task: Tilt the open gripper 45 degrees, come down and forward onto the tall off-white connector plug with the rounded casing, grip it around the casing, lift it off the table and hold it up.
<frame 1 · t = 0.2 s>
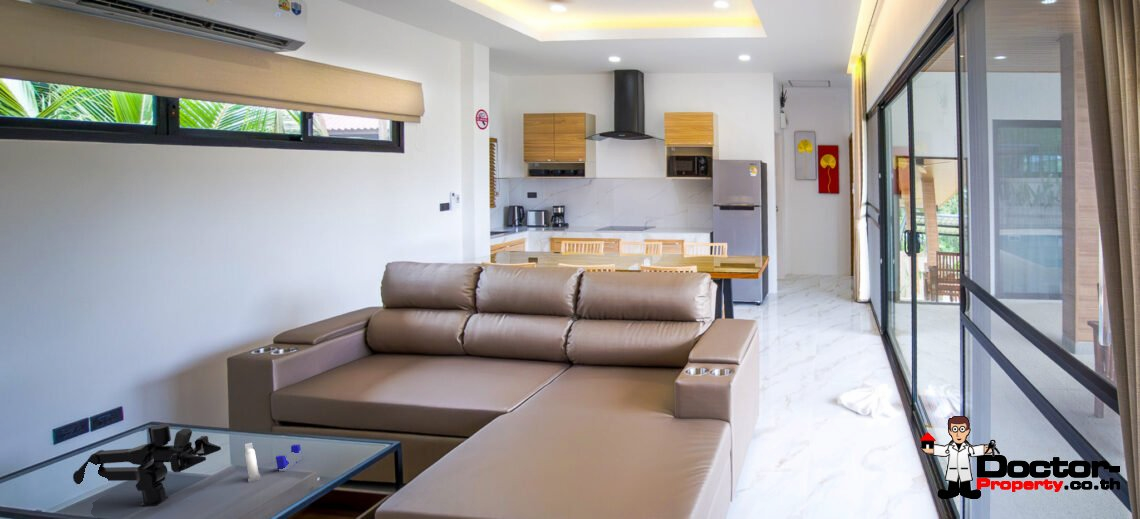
hand: (213, 453, 270), 17 cm above the table, tool horizontal, fingers open, 9 cm apart
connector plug: (254, 479, 287), on the table
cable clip: (288, 466, 298), on the table
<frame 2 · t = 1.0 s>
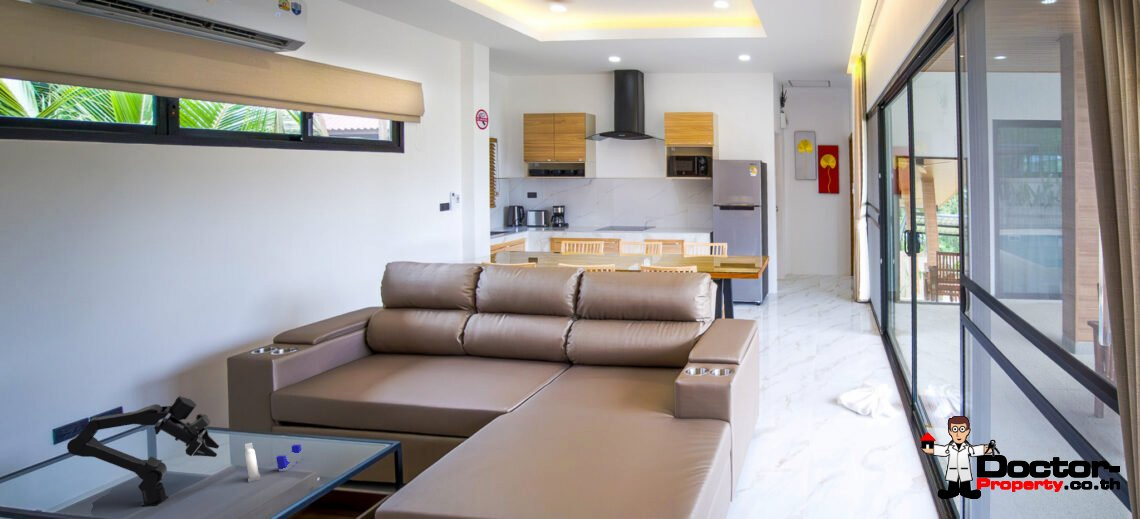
hand: (217, 451, 280), 14 cm above the table, tool tilted 45°, fingers open, 9 cm apart
nothing on the table moved.
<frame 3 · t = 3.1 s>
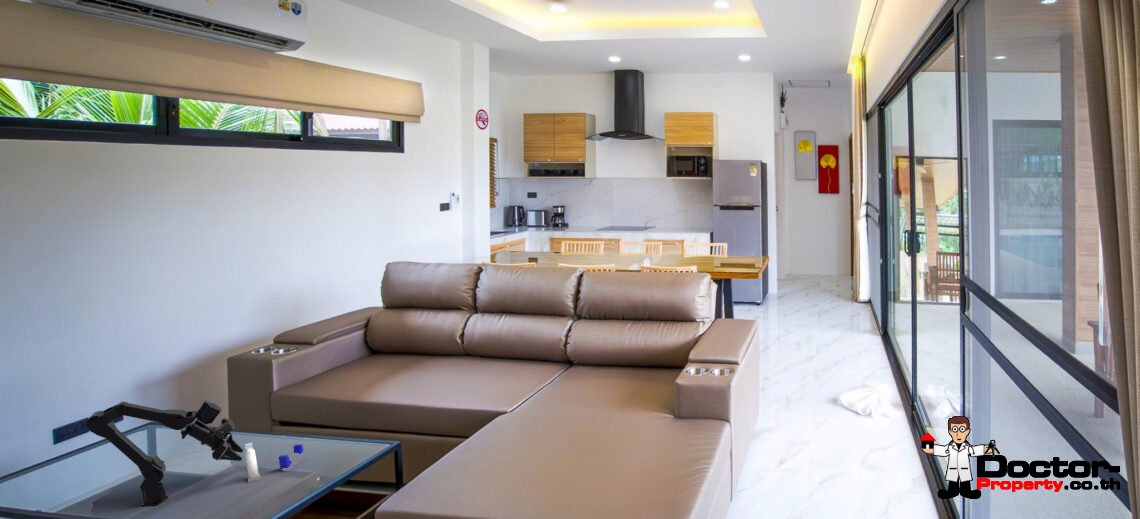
hand: (242, 455, 285), 10 cm above the table, tool tilted 45°, fingers open, 9 cm apart
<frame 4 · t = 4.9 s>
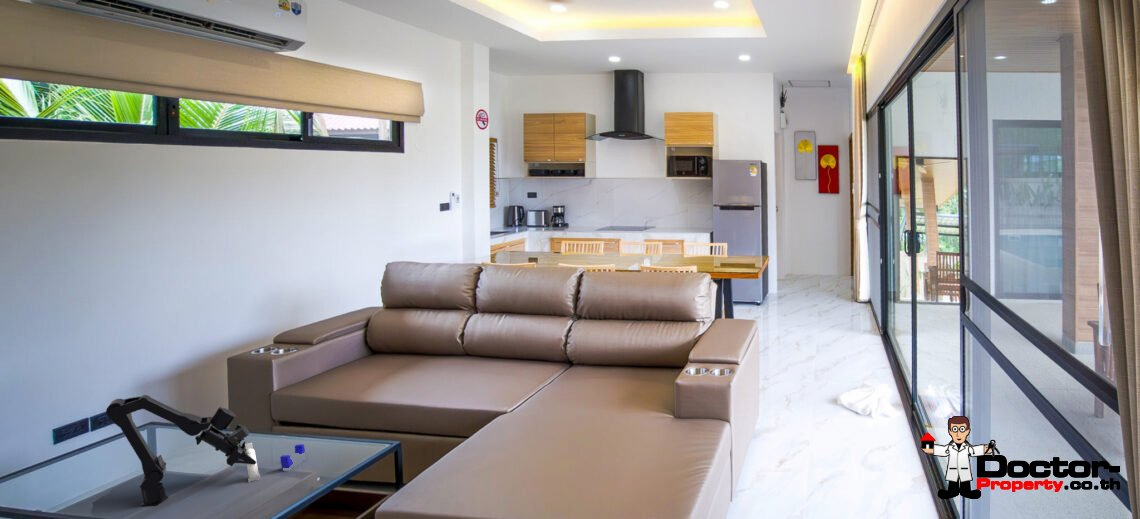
hand: (255, 461, 287), 7 cm above the table, tool tilted 45°, fingers closed on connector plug, 3 cm apart
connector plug: (254, 479, 287), on the table, touching gripper
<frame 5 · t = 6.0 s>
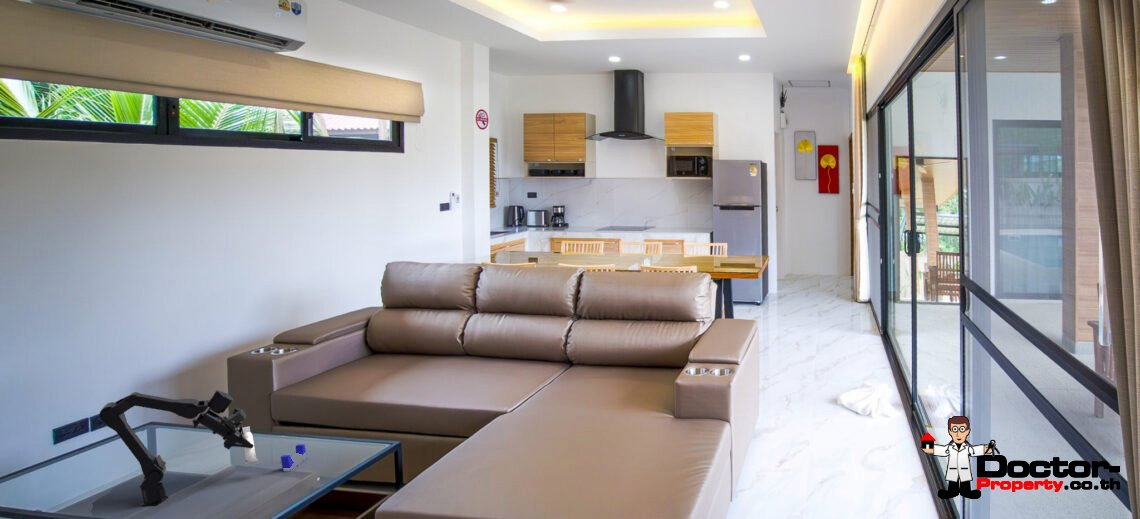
hand: (253, 445, 286), 13 cm above the table, tool tilted 45°, fingers closed on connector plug, 3 cm apart
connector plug: (251, 463, 286), point 6 cm above the table, touching gripper
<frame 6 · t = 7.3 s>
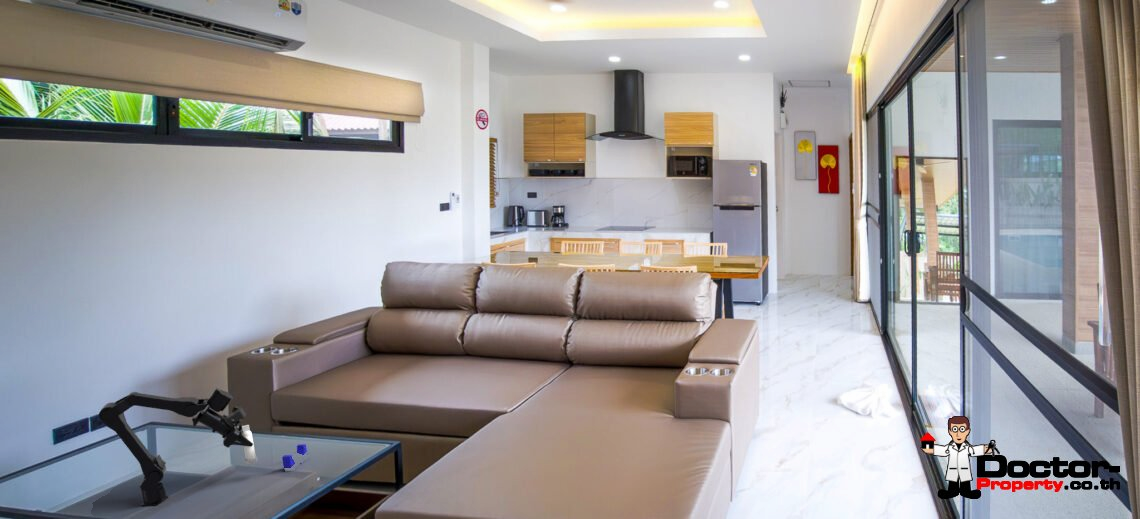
hand: (252, 443, 286), 13 cm above the table, tool tilted 45°, fingers closed on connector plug, 3 cm apart
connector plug: (251, 461, 286), point 7 cm above the table, touching gripper
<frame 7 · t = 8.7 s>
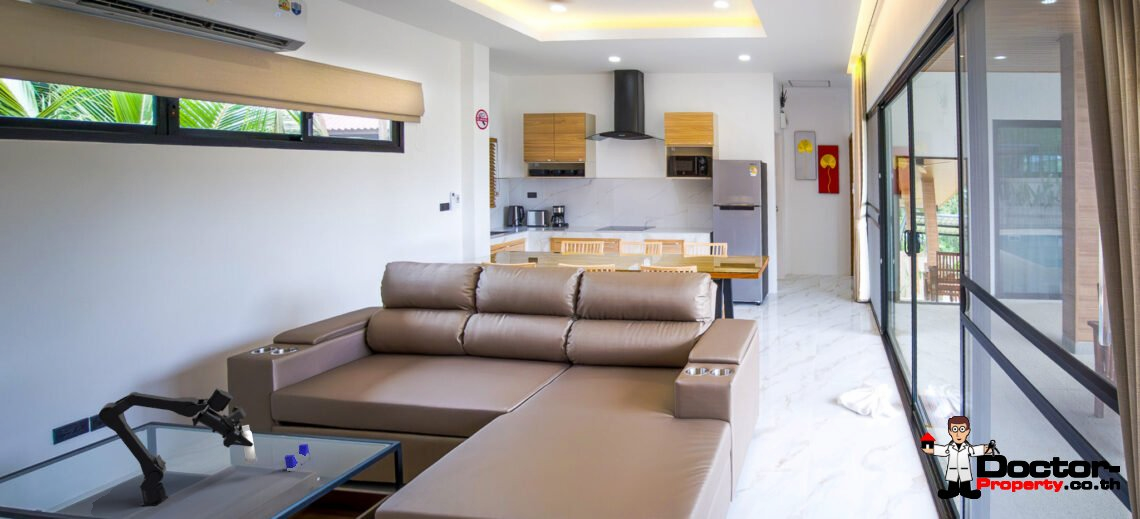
hand: (252, 443, 286), 13 cm above the table, tool tilted 45°, fingers closed on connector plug, 3 cm apart
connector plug: (251, 461, 286), point 7 cm above the table, touching gripper
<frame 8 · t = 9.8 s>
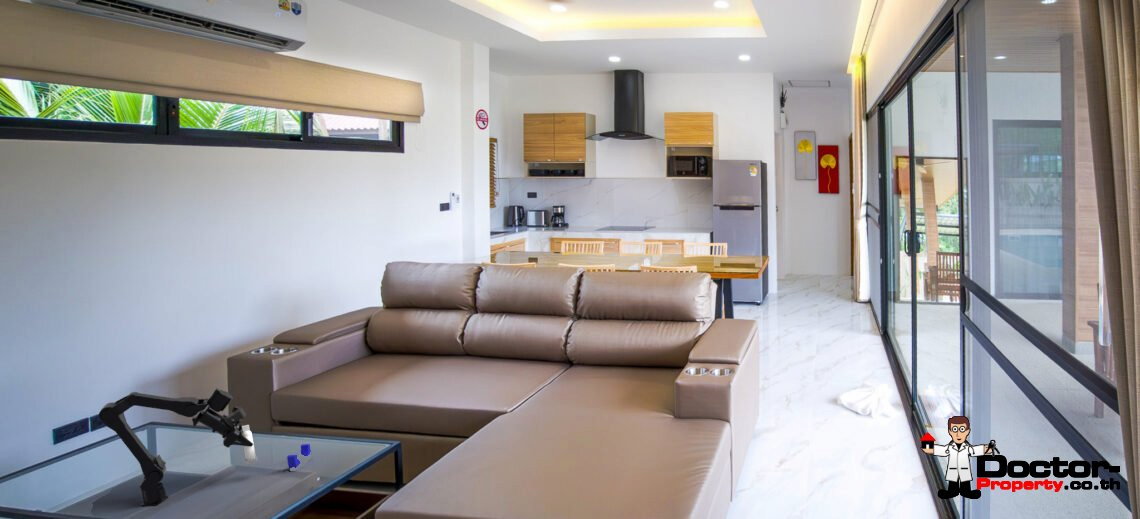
hand: (252, 443, 286), 13 cm above the table, tool tilted 45°, fingers closed on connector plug, 3 cm apart
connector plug: (251, 461, 286), point 7 cm above the table, touching gripper
at the end: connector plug point 6.9 cm above the table; the gripper is holding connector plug; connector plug tilted 0° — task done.
